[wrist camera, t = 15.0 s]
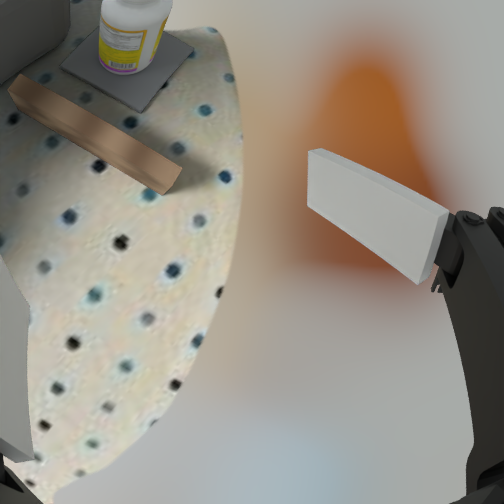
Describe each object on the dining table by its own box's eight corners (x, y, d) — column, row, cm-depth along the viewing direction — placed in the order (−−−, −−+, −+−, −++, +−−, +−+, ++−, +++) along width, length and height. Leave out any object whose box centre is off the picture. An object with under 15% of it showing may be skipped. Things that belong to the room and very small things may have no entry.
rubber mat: (59, 68, 25) (59, 65, 24) (118, 11, 27) (119, 8, 26) (140, 113, 29) (141, 111, 29) (192, 51, 31) (194, 48, 31)
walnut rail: (18, 109, 23) (7, 89, 18) (29, 95, 23) (20, 73, 19) (162, 195, 31) (171, 186, 26) (171, 179, 31) (182, 168, 27)
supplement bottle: (137, 26, 28) (160, -49, 16) (164, 60, 29) (198, -13, 18) (88, 50, 25) (92, -28, 14) (114, 87, 27) (126, 11, 16)
